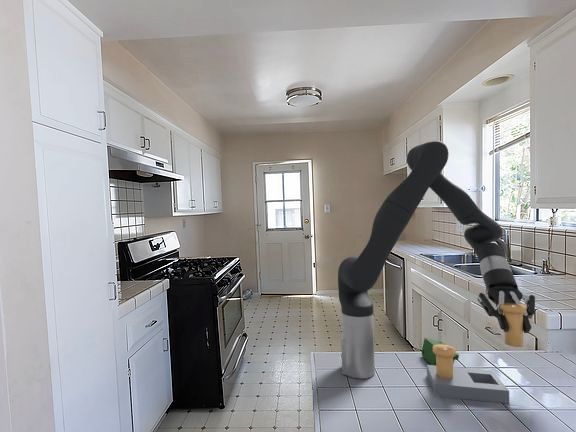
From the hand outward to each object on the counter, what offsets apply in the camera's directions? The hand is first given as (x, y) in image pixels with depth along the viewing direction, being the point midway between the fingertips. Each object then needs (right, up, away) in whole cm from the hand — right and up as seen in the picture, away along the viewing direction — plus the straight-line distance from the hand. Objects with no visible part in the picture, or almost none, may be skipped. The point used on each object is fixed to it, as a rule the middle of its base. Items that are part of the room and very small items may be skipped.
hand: (517, 330), depth 82 cm
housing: (-12, -16, +3) cm, 20 cm away
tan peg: (0, -4, +2) cm, 5 cm away
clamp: (-11, -16, +18) cm, 27 cm away
